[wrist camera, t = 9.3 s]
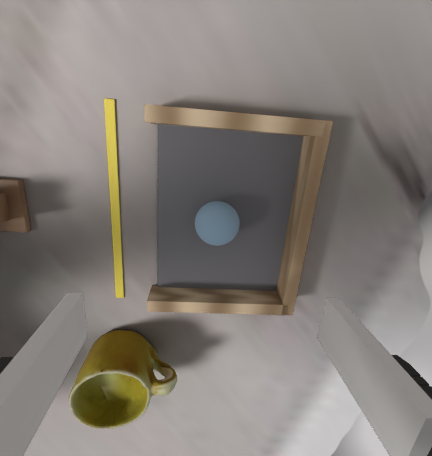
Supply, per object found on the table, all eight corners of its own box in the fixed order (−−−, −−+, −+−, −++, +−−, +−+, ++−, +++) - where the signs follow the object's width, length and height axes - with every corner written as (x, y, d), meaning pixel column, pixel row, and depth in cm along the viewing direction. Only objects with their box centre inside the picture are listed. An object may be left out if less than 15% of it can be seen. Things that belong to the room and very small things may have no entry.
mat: (157, 285, 34) (157, 287, 34) (158, 124, 28) (157, 123, 27) (275, 289, 36) (276, 291, 35) (302, 136, 29) (303, 136, 29)
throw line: (116, 296, 35) (115, 297, 34) (104, 98, 27) (104, 98, 27) (123, 297, 35) (123, 297, 35) (114, 99, 27) (114, 99, 27)
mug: (79, 391, 37) (60, 452, 28) (87, 321, 37) (70, 358, 28) (164, 385, 41) (173, 436, 31) (172, 321, 41) (183, 353, 31)
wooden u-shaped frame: (152, 294, 35) (147, 311, 32) (151, 108, 27) (144, 104, 24) (284, 299, 36) (292, 315, 33) (317, 122, 29) (333, 121, 25)
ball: (187, 238, 31) (205, 255, 26) (188, 197, 29) (209, 208, 25) (223, 234, 33) (245, 249, 29) (226, 195, 31) (251, 206, 27)
